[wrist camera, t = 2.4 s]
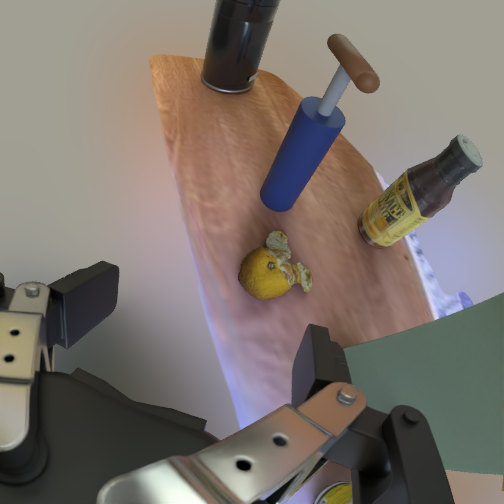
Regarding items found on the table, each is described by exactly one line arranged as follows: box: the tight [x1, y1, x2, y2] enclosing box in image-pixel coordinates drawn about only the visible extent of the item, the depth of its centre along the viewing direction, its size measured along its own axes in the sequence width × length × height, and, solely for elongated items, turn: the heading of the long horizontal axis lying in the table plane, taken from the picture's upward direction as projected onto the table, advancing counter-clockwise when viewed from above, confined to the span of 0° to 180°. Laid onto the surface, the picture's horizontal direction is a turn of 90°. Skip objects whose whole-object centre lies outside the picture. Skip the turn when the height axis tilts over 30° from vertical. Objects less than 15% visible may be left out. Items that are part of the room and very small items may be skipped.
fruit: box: [238, 231, 312, 300], centre depth 33 cm, size 8×8×4 cm
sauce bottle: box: [358, 135, 483, 248], centre depth 32 cm, size 7×6×20 cm
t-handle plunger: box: [260, 34, 380, 212], centre depth 29 cm, size 8×5×22 cm, turn 10°
